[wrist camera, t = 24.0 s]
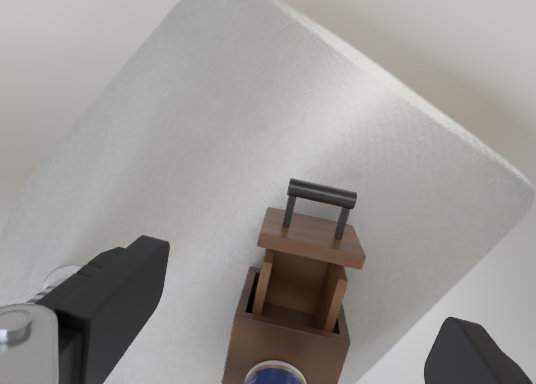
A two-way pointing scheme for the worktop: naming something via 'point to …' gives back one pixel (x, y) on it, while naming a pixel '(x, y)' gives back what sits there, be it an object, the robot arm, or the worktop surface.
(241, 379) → the cabinet
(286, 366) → the pill bottle
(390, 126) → the worktop surface
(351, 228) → the drawer
